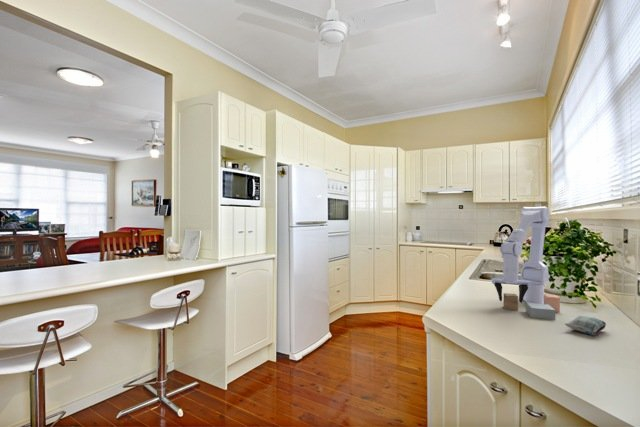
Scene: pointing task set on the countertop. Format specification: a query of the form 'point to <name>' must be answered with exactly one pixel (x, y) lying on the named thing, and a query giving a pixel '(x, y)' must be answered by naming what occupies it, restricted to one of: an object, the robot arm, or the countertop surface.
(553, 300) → the terracotta block
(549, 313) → the slate base block
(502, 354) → the countertop surface
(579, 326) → the packaged food
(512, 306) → the walnut block
